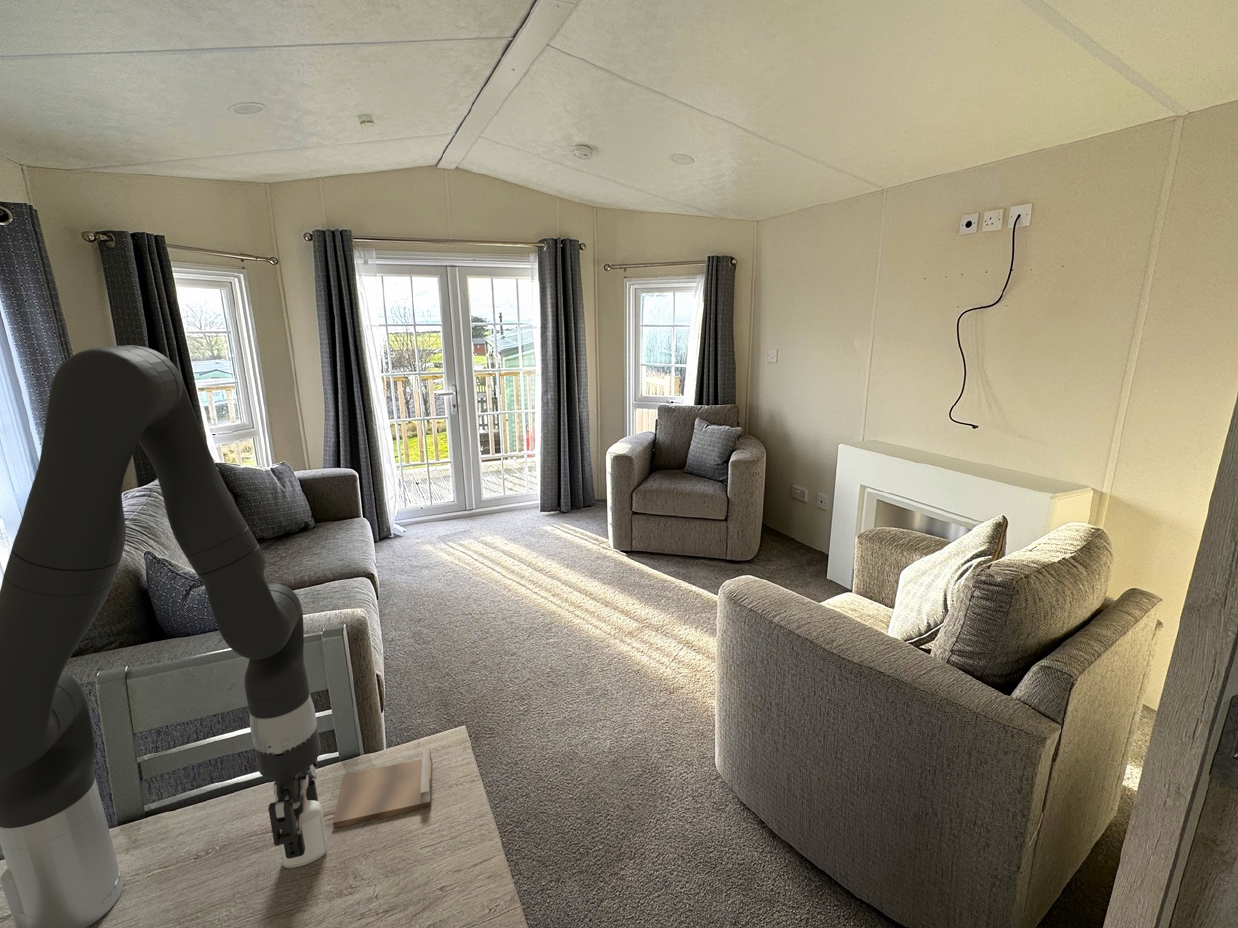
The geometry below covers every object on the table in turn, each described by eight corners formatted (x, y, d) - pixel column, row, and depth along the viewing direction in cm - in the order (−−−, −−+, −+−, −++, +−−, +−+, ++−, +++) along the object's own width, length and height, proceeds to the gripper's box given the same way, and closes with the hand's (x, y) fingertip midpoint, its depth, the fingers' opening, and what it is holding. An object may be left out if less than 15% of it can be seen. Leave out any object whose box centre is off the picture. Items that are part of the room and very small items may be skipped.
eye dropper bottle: (316, 870, 82) (304, 798, 79) (277, 868, 82) (264, 797, 79) (332, 843, 86) (322, 774, 83) (295, 841, 86) (283, 772, 83)
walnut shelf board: (333, 828, 89) (331, 811, 88) (344, 779, 98) (342, 764, 97) (431, 806, 92) (429, 790, 92) (432, 761, 102) (431, 747, 101)
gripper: (269, 703, 85) (286, 797, 89) (236, 775, 71) (258, 881, 75) (326, 693, 87) (340, 785, 91) (304, 761, 73) (322, 866, 77)
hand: (303, 829), depth 83 cm, fingers open, 8 cm apart
